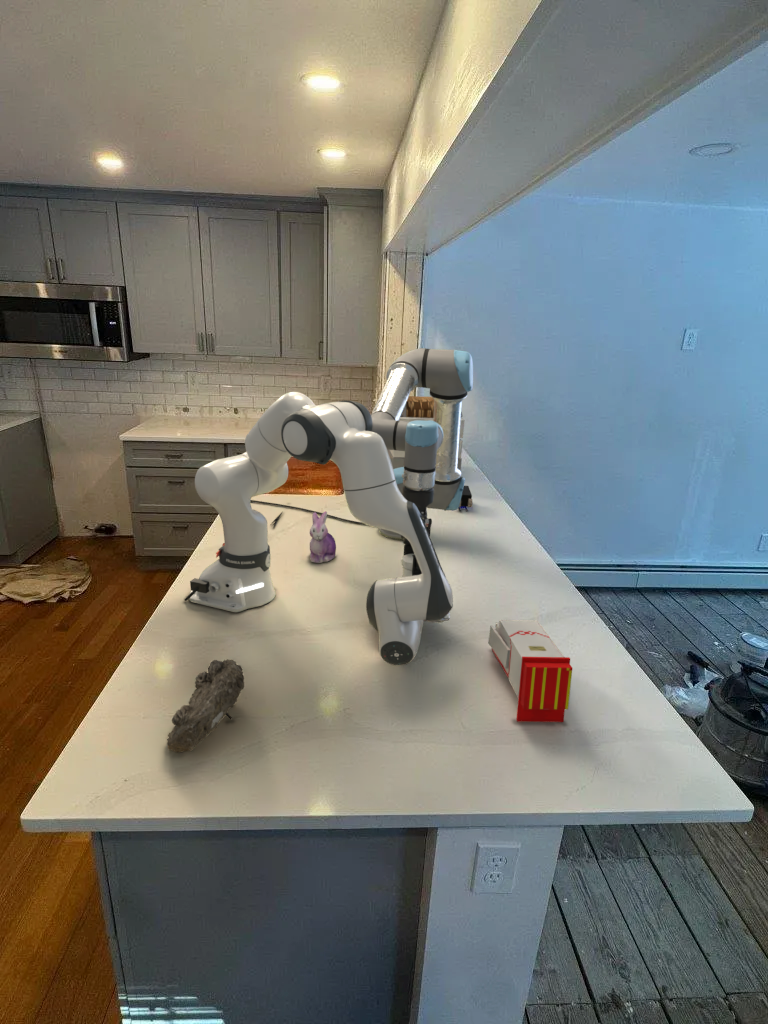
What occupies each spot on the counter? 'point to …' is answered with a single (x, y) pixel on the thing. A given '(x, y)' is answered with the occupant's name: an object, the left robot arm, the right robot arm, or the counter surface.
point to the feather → (276, 520)
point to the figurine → (321, 540)
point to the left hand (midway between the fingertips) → (411, 589)
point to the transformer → (423, 411)
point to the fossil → (206, 705)
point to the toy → (533, 669)
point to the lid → (407, 561)
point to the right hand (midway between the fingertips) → (412, 573)
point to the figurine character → (465, 498)
